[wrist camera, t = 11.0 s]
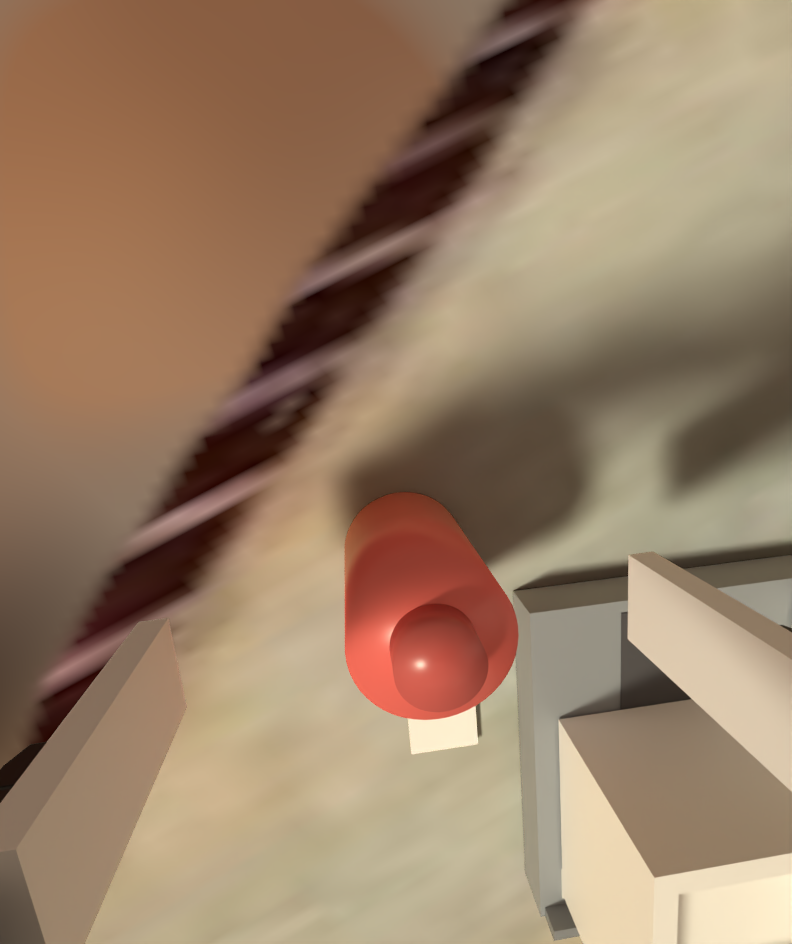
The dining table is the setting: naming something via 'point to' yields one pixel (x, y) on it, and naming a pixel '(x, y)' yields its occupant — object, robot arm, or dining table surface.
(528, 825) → the panel
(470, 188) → the dining table surface
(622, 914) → the cream square open box
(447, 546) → the red cylinder with knob
